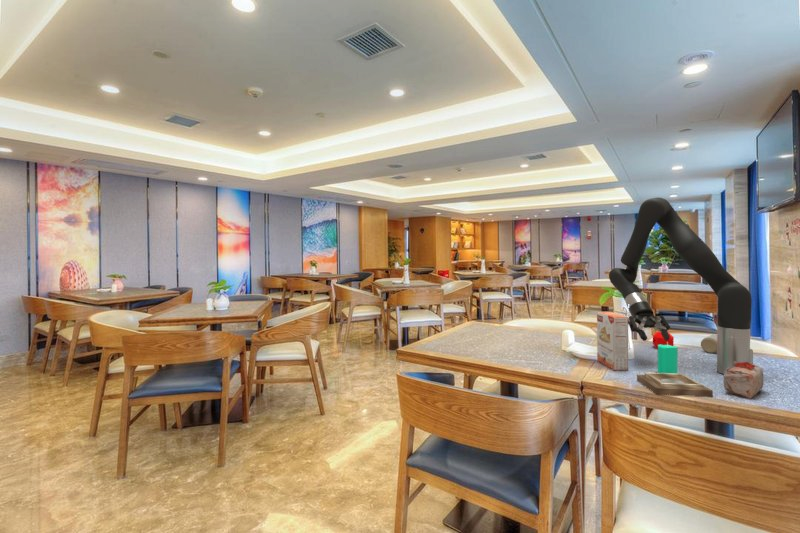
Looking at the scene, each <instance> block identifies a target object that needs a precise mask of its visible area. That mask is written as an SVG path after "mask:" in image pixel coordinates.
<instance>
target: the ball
mask: <svg viewBox="0 0 800 533" xmlns="http://www.w3.org/2000/svg"><path fill="white" fill-rule="evenodd" d="M667 332H668V331H667ZM668 334H669V336H670V338H669V340H668V341H665V340H664V338H663V336H662V334H661V332H660V331H658V330H657V332H655V333H654V334H653V335H652V345H653V346H654V347H655V348H657V349H658V345H667V342H668V345H671V346H674V338H675V337H674V336H673V334H671V333H670V332H668Z"/></svg>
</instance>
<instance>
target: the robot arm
mask: <svg viewBox="0 0 800 533" xmlns="http://www.w3.org/2000/svg"><path fill="white" fill-rule="evenodd" d="M656 224H658V226H659V227H661V229H662V230H663V231H664V232H665V234H666V235H667V237H668V239H669V242H670V244H671V247H673V249H674V251H675V252H676V254H677V255H678V256H679V257H680V259H682V260H683V261H684V263H686V265H687V266H688V267H689V268H691V270H693V271H694V272H695V273H696V274H697V275H699V276H700V277H701V278H703V279H704V281H705V282H706V283H707V284H708V286H709V287H710V288H711V290H712V291H713V292H714V293H715V294H714V295H716V297H717V321H716V322H717V328H716V334H717V353H716V372H717V373H720V374H723V375H724V373H725V371H726V369H727V368H729V369H728V370H730V369H731V368H733V367H735V364H734V361H736V362H737V363H738V362H739V363H741V362H742V363H743V362H748V363H750V364H754V350H753V349H751V323H752V294H751V291H750V290H749V289H748V288H747V287H746V286H744V285H743V284H742V283H741V282H739V281H738V280H737V279H736V278H735V277H733V276H732V275H731V274H730V273H729V272H728V271H727V270H726V268H725V267H724V266H723V265H722V264H721V262H720V260H719V258H718V257H717V255H715V253H714V252H713V251H712V249H711V248H710V247H709V246H708V245H707V244H706V243H705V241H703V240H702V238H701V237H700V236H699V235H698V234H697V233H696V232H695V231H694V230H693V229H691V227H690V226H689V225H688V224H687V223H686V222H685V221H684V220H683V219H682V218H681V217H680V216H679V214H678V213H677V211H676V210H675V209H674V207H673V205H672V204H671V203H670V201H668V200H667V199H665V198H663V197H653V198H648V199H646V200H645V201H643V202H642V203H641V205H640V207H639V209H638V213H637V218H636V221H635V225H634V228H633V230H632V233H631V236H630V239H629V241H628V243H627V245H626V247H625V249H624V252H623V253H622V255H621V258H620V262H621V264H622V265H624V266H626V268H620V267H615V268H612V269H611V270H610V271H609V273H608V278H609V281H610V283H611V284H612V285H613V287H614V288H615V289H616V290H617V291H618V292H619V293H620V294H621V295H622V298H623V299H624V302H625V303H626V307H627V310H628V311H629V312H630V316H629V317H628V327H629V329H630V331H631V332H632V333H634V332H636V334H638V336H639V337H640V339H641V340H642V341H643V342H647V340H648V336H647V334H646V332H645V331H644V329H647V328H648V329H653V330H655V331H656V330H657V332H658V331H660V332H661V334H662V336H663V338H664V340H665V341H668V340H669V338H670V336H669V334H668V331H669V330H670V329H671V326H670V324H669V323H668V321H667V320H666V318H665V317H664V316H663V315H660V316H655V315H654V311H653V309H652V307H651V305H650V304H649V302H648V300H647V298H646V297H645V296H644V294H643V292H642V291H641V289H640V287H639V286H638V284H635V281H636V280H637V277H638V269H639V264H640V262H641V260H642V257H643V256H644V253H645V251H646V248H647V245H648V241H649V237H650V234H651V232H652V230H653V229H654V227H655V225H656ZM628 304H630V308H628ZM637 324H638V325H637Z"/></svg>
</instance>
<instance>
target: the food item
mask: <svg viewBox="0 0 800 533" xmlns="http://www.w3.org/2000/svg"><path fill="white" fill-rule="evenodd" d="M734 364H735V367H733V368H731V369H730V370H728V369H729V368H727V369H726V371H725V373H724V374H723V382H722V383H723V388H724V390H725V391H727V393H729V394H732V395H735V396H739V397H742V398H747V399H752V398H753V397H754V396H756V395H757V393H759V392H760V391H762V389H763V387H764V371H763V368H762V366H760V365H757V364H754V363H753V364H750V363H748V362H743V363H742V362H741V363H739V362H738V363H737V362H736V361H734Z"/></svg>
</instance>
